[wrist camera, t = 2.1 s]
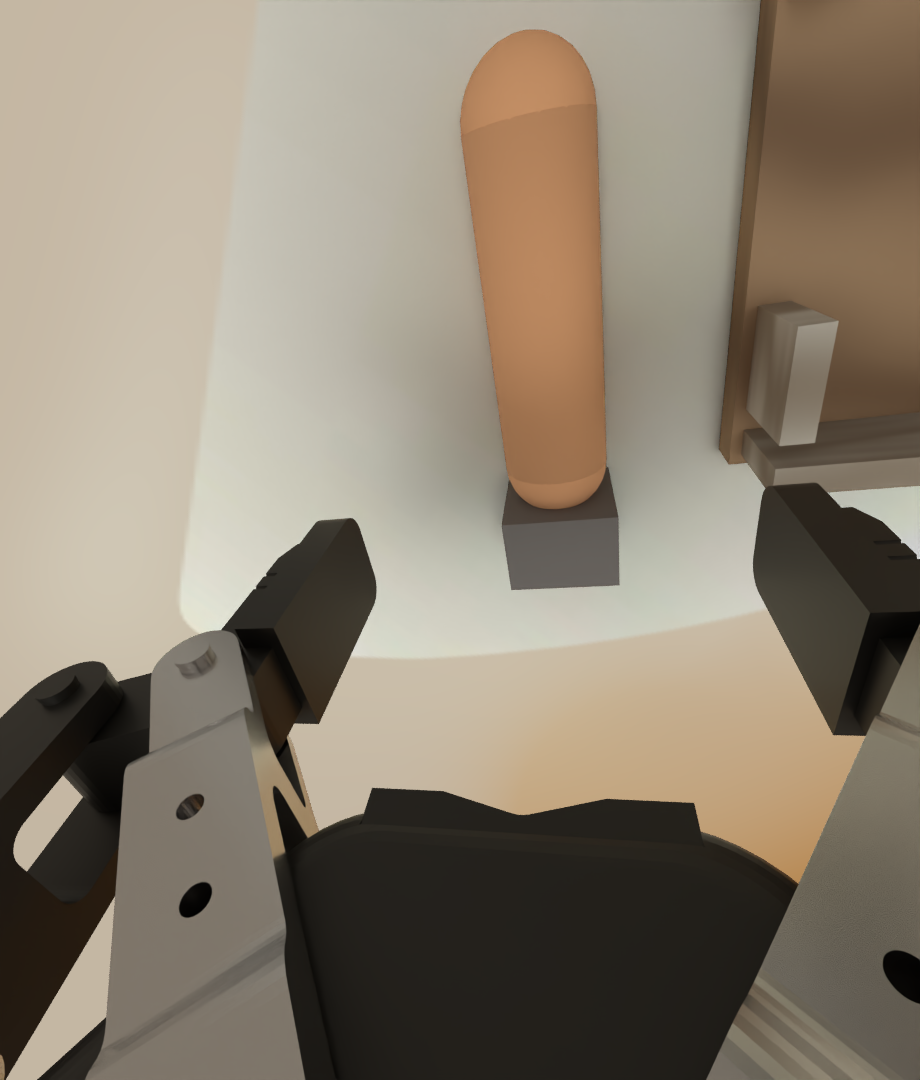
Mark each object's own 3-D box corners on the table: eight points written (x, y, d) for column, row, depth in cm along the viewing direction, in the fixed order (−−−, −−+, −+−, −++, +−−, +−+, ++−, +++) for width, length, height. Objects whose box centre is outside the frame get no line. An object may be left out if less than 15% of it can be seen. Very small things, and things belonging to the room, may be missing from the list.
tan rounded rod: (454, 69, 17) (426, 32, 13) (596, 31, 16) (609, -22, 12) (517, 534, 26) (511, 590, 22) (609, 528, 25) (619, 585, 21)
